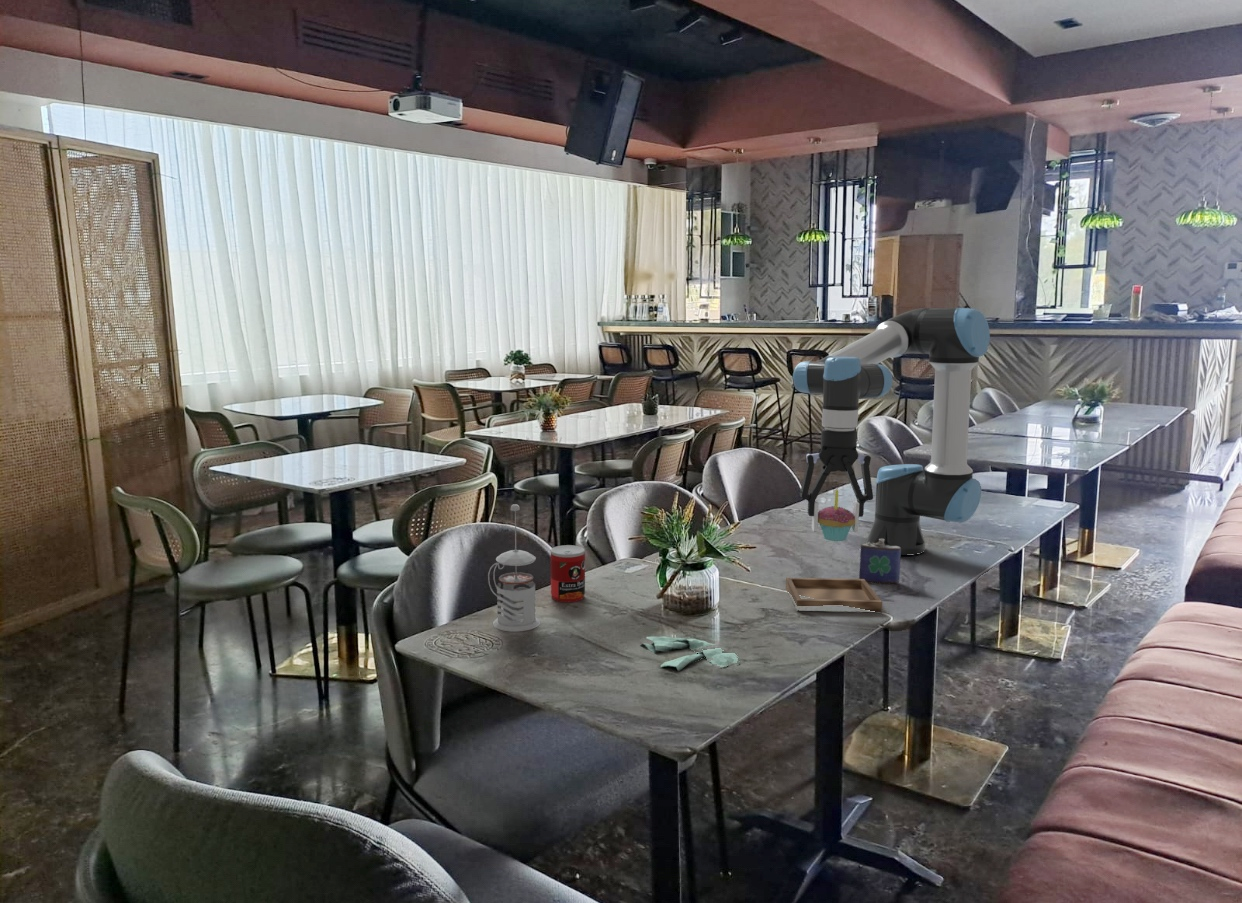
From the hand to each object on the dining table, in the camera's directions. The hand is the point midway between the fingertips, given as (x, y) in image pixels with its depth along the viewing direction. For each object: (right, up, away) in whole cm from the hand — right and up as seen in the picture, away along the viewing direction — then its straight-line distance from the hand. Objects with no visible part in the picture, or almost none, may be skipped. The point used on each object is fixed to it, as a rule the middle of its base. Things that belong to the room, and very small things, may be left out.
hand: (834, 530), depth 192 cm
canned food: (-59, -16, +4) cm, 61 cm away
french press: (-69, -18, -12) cm, 73 cm away
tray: (0, -16, +3) cm, 16 cm away
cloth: (-36, -21, -28) cm, 51 cm away
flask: (+14, -14, +16) cm, 26 cm away
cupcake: (0, -2, 0) cm, 2 cm away
